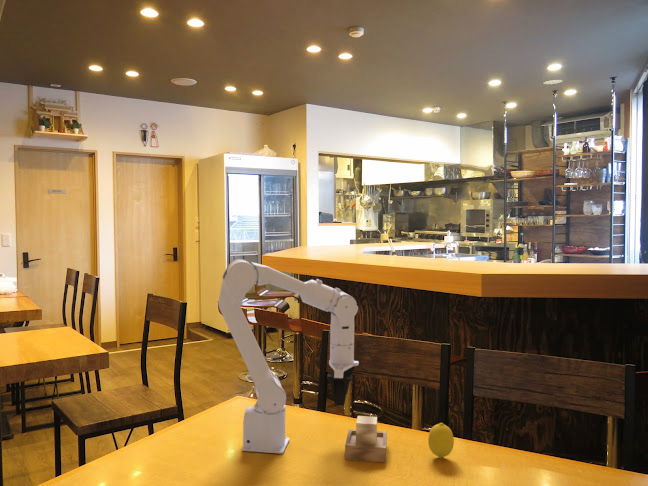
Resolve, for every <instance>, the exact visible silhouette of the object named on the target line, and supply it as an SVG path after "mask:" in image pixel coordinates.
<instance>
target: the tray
mask: <svg viewBox="0 0 648 486" xmlns="http://www.w3.org/2000/svg"><path fill="white" fill-rule="evenodd" d="M387 434H388V431H382V430H381V431H378V430H377V441H376V446H373V445H359V444H356V429H351V428H349V429H348V430H347V436H346V440H345V445H344V460H351V461H359V462H360V461H361V462H374V463H376V462H377V463H387V447H388V445H387V443H388V442H387V441H388V440H387V439H388V436H387Z"/></svg>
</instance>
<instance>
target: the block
mask: <svg viewBox="0 0 648 486" xmlns="http://www.w3.org/2000/svg"><path fill="white" fill-rule="evenodd" d="M355 430H356V444H359V445H373V446H376V441H377V431H378V417H377V416H367V415H357V418H356V423H355Z"/></svg>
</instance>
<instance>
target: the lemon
mask: <svg viewBox="0 0 648 486" xmlns="http://www.w3.org/2000/svg"><path fill="white" fill-rule="evenodd" d="M427 441H428V442H427V443H428V446H429V447H428V448H429V449H430V451H431V453H432V454H434V455H435V456H436V457H438V458H439V459H443V458H444V457H447V456H449V455H450V454H451V453H452V451H453V449H454V444H455V443H454V441H455V440H454V434H453V431H452V429H451V428H450V427H449V426H447V425H446V424H444V423H443V422H439V423H437V424H435V425H433V426H432V427H431V429H430V431H429V433H428V437H427Z"/></svg>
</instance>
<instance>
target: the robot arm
mask: <svg viewBox="0 0 648 486" xmlns="http://www.w3.org/2000/svg"><path fill="white" fill-rule="evenodd" d="M255 284H256V285H257V287H258V286H265V285H269V284H270V285H272V286H275V287H278V288H281V289H283V290H286V291H288V292H291V293H294V294H296V295H299V297H300V299H301V301H302V303H304V304H307V305H309V306H311V307H314V308H316V309H319V310H321V311H324V312H330V333H329V336H330V337H329V338H330V339H329V360H328V366H330V368H331V369H332V371H333V373H328V374H327V375H326V376H327V377H326V378H327V381H328V383H329V385H330V388H331V392H332V396H333V402H334V405H335V406H342V407H343V406H345V404H346V400H347V399H346V397H347V395H348V392H349V387H350V384H351V383H350V382H351V381H352V379H353V376H352V375H353V371H354V370H355V368H356V367H357V366H359V364H360V362H359V360H355V316H357V315H356V314H357V313H358V311H359V305H357V303H358V302H357V301H356V299H355V298H354V296H351V295H350V294H348V293H346V292H344V291H343V290H341V288H338V287H335V288H333V287H331V286H330V285H328V284H327V285H326V284H324V283H323V280H321V279H319V278H316V280H314V279H310V280H307V281H302V280H299V279H297V278H295V277H293V276H290V275H288V274H286V273H284V272H281V271H279V270H277V269H275V268H273V267H270V266H268V265H265V264H260V263H257V262H253V261H252V262H251V263H250V262H249V261H248V260H246V259H243V258H238V259H234V260H232V261H231V262H230V263H229V264H228V265H227V266H226V269H225V271H223V274H222V279H221V286H220V291H219V295H218V301H217V303H218V308H219V312H220V313H221V315H222V317H223V319H224V322H225V324H226V325H227V327H228V330H229V332H230V335H231V336H232V338H233V340H234V343H235V344H236V347H237V349H238V351H239V353H240V355H241V358H242V360H243V362H244V364H245V366H246V368H247V370H248V373H249V375H250V376H251V377H250V378H251V379H252V381H253V383H254V392H255V395H256V396H257V400H256V402H255V404H254V405H253V406H247V407H246V408H245V411H244V415H243V421H242V423H243V424H242V428H243V429H242V433H243V434H242V449H241V450H242V452H255V453H266V454H267V453H268V454H269V453H270V454H280V455H281V454H284V452H285V451H286V448H287V446H288V444H289V442H290V437H286V402H287V394H286V391H285V389H284V388H283V387H282V384H281V380H280V379H279V378H278V377H277V376H276V375H274V374H273V373H272V370H271V369H270V367H269V364H268V363H267V360H266V358H265V356H264V354H263V351H262V350H261V348H260V346H259V343H258V341H257V339H256V337H255V335H254V332H253V331H252V327H251V326H250V324H249V322H248V320H247V318H246V315H245V314H244V313H245V312H244V311H243V309H242V304H243V301H244V299H245V296H246V294H247V293H248V292H249V291H250V290H251V289H252V288H253V286H254V285H255Z"/></svg>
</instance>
